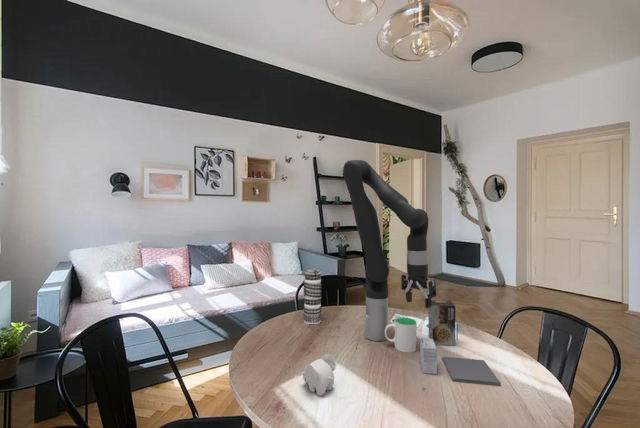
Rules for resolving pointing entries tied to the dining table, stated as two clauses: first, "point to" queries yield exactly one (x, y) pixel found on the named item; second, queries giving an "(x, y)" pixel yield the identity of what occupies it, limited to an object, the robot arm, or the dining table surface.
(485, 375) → the rubber mat
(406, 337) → the mug
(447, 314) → the coffee box
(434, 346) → the medicine box
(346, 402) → the dining table surface
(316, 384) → the elephant figurine
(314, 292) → the decorative candle
